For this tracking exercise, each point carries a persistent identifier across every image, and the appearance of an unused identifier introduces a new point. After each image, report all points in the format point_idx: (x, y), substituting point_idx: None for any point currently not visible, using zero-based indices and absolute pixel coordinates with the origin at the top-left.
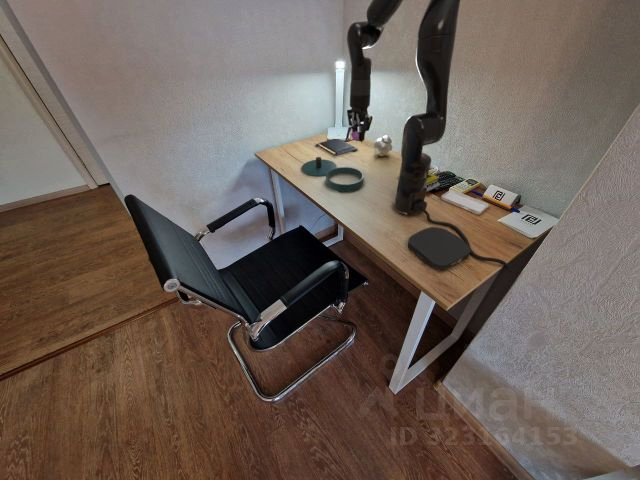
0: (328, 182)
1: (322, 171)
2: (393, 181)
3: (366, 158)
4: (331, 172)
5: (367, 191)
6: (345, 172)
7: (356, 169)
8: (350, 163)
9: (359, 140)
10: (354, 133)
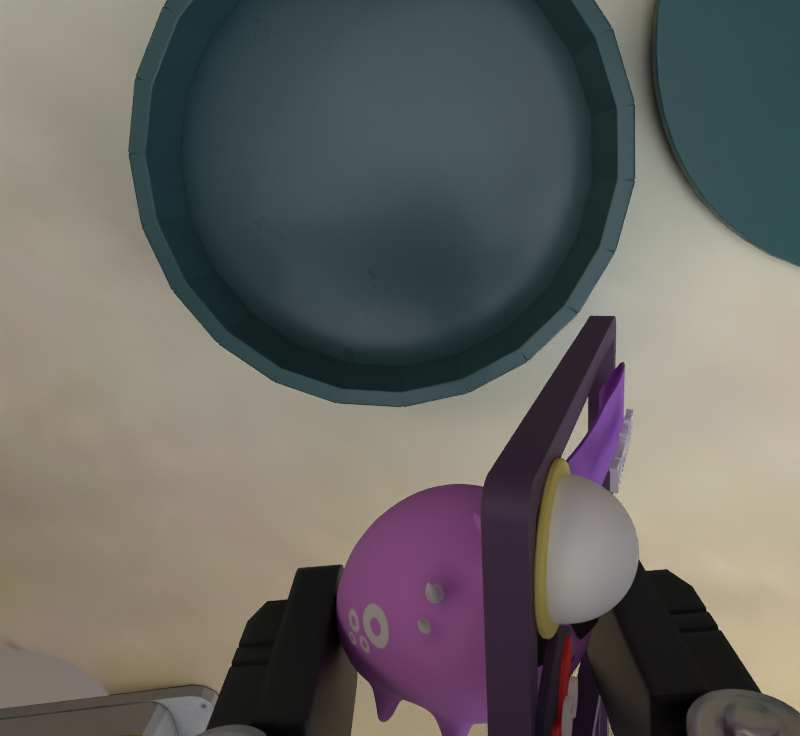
0: None
1: (762, 8)
2: (183, 617)
3: (766, 667)
4: (595, 66)
5: (110, 300)
6: (561, 275)
7: (452, 380)
8: (773, 460)
9: (303, 571)
10: (429, 585)
